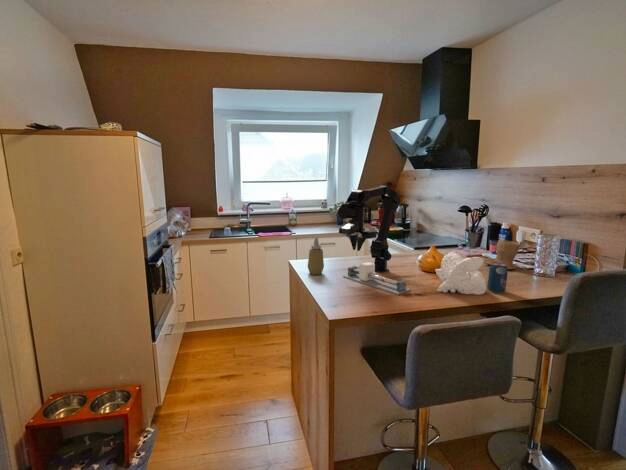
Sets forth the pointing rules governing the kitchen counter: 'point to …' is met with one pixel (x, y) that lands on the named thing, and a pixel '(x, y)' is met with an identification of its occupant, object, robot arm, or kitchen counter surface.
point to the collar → (366, 270)
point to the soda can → (497, 277)
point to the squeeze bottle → (315, 258)
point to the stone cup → (505, 253)
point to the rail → (379, 278)
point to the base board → (377, 284)
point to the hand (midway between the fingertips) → (356, 250)
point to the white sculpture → (461, 274)
